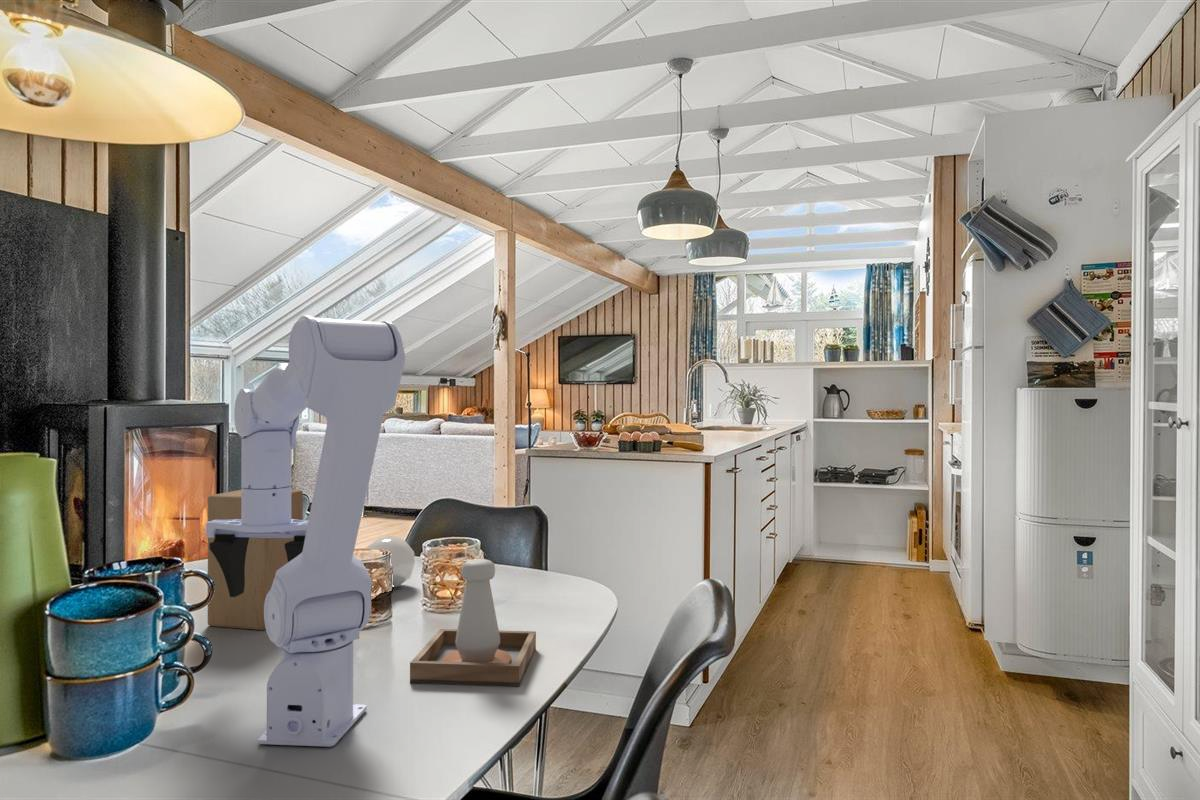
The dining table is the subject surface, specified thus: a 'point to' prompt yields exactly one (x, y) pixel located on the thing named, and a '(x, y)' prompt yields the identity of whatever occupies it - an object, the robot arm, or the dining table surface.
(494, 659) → the coaster
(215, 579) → the wooden block
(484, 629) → the salt shaker
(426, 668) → the square wooden serving tray
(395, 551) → the white rounded ovoid
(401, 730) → the dining table surface
